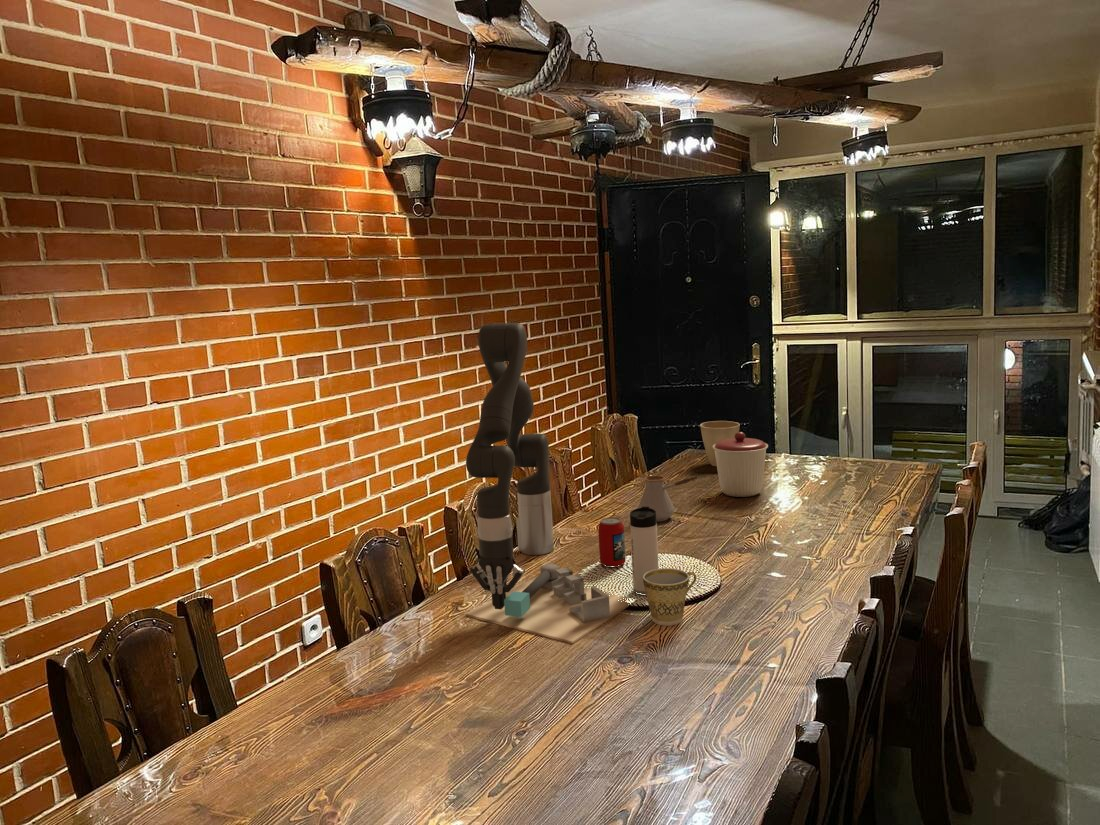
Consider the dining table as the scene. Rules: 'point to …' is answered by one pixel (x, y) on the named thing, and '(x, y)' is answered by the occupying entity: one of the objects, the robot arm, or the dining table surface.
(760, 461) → the canister
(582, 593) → the clip
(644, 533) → the travel mug
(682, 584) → the ceramic cup
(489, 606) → the board
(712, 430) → the plant pot
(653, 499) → the coffee pot
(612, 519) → the beverage can
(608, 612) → the end holder
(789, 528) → the dining table surface
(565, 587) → the clip
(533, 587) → the cable arm
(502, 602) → the robot arm
